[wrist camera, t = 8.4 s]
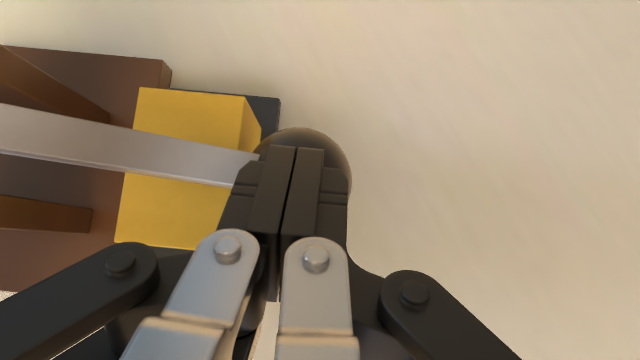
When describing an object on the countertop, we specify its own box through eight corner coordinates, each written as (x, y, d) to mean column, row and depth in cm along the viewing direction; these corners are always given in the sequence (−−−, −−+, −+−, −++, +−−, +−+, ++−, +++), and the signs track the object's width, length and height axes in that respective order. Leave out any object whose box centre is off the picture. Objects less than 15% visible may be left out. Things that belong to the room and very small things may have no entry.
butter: (280, 102, 19) (268, 58, 15) (259, 287, 18) (238, 301, 14) (173, 92, 19) (128, 45, 15) (145, 275, 18) (86, 285, 14)
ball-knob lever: (322, 147, 17) (377, 130, 14) (313, 238, 17) (368, 241, 14) (-240, 21, 10) (-377, -67, 7) (-287, 173, 10) (-457, 149, 7)
